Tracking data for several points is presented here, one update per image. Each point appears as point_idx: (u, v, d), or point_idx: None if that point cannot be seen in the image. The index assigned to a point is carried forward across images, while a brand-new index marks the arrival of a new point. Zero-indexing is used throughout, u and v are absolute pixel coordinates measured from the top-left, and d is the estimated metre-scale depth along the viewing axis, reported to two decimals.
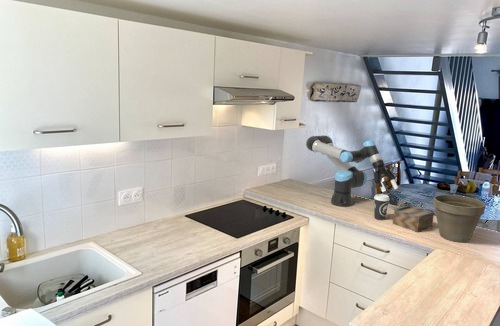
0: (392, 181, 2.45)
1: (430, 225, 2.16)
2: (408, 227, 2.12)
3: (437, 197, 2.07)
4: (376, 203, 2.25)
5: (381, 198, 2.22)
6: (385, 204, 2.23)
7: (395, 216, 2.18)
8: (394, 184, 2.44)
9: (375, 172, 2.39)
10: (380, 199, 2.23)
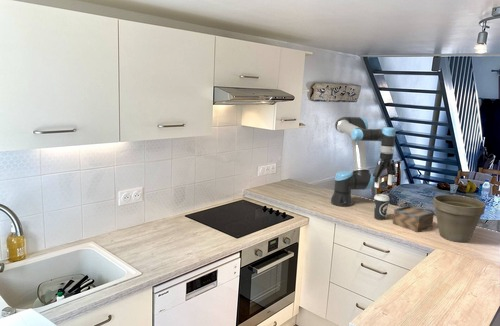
0: (390, 176, 2.27)
1: (430, 225, 2.16)
2: (408, 227, 2.12)
3: (437, 197, 2.07)
4: (376, 203, 2.25)
5: (381, 198, 2.22)
6: (385, 204, 2.23)
7: (395, 216, 2.18)
8: (390, 180, 2.28)
9: (378, 166, 2.18)
10: (380, 199, 2.23)
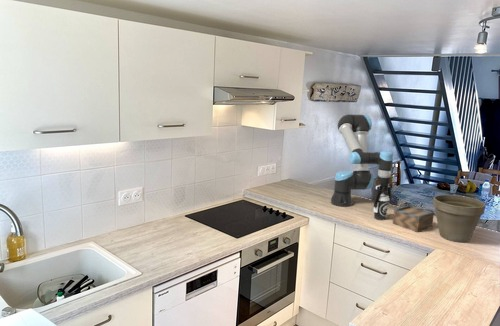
0: None
1: (430, 225, 2.16)
2: (408, 227, 2.12)
3: (437, 197, 2.07)
4: None
5: (381, 198, 2.22)
6: (385, 204, 2.23)
7: (395, 216, 2.18)
8: None
9: (376, 191, 2.21)
10: (380, 199, 2.23)
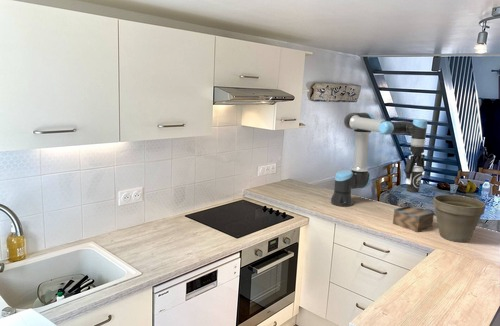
0: None
1: (430, 225, 2.16)
2: (408, 227, 2.12)
3: (437, 197, 2.07)
4: None
5: (415, 168, 2.09)
6: (419, 175, 2.09)
7: (395, 216, 2.18)
8: None
9: (409, 161, 2.08)
10: (413, 170, 2.09)
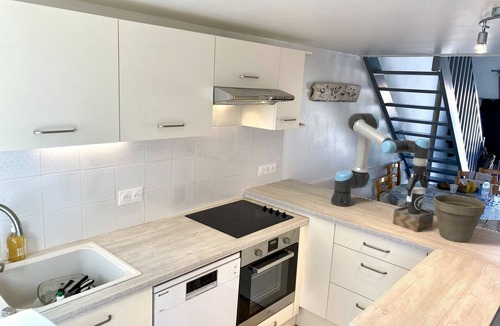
0: None
1: (430, 225, 2.16)
2: (408, 227, 2.12)
3: (437, 197, 2.07)
4: None
5: (417, 191, 2.11)
6: (421, 197, 2.11)
7: (395, 216, 2.18)
8: None
9: (411, 179, 2.08)
10: (415, 192, 2.11)
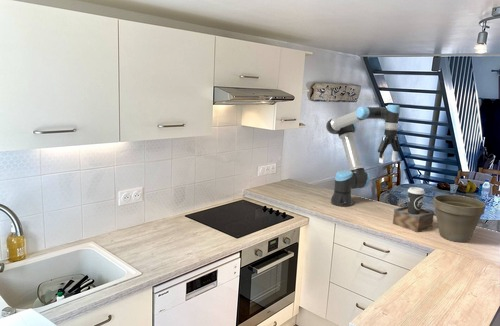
0: (394, 152, 2.36)
1: (430, 225, 2.16)
2: (408, 227, 2.12)
3: (437, 197, 2.07)
4: (410, 196, 2.13)
5: (416, 191, 2.10)
6: (420, 197, 2.11)
7: (395, 216, 2.18)
8: (394, 156, 2.36)
9: (383, 141, 2.26)
10: (415, 192, 2.10)
